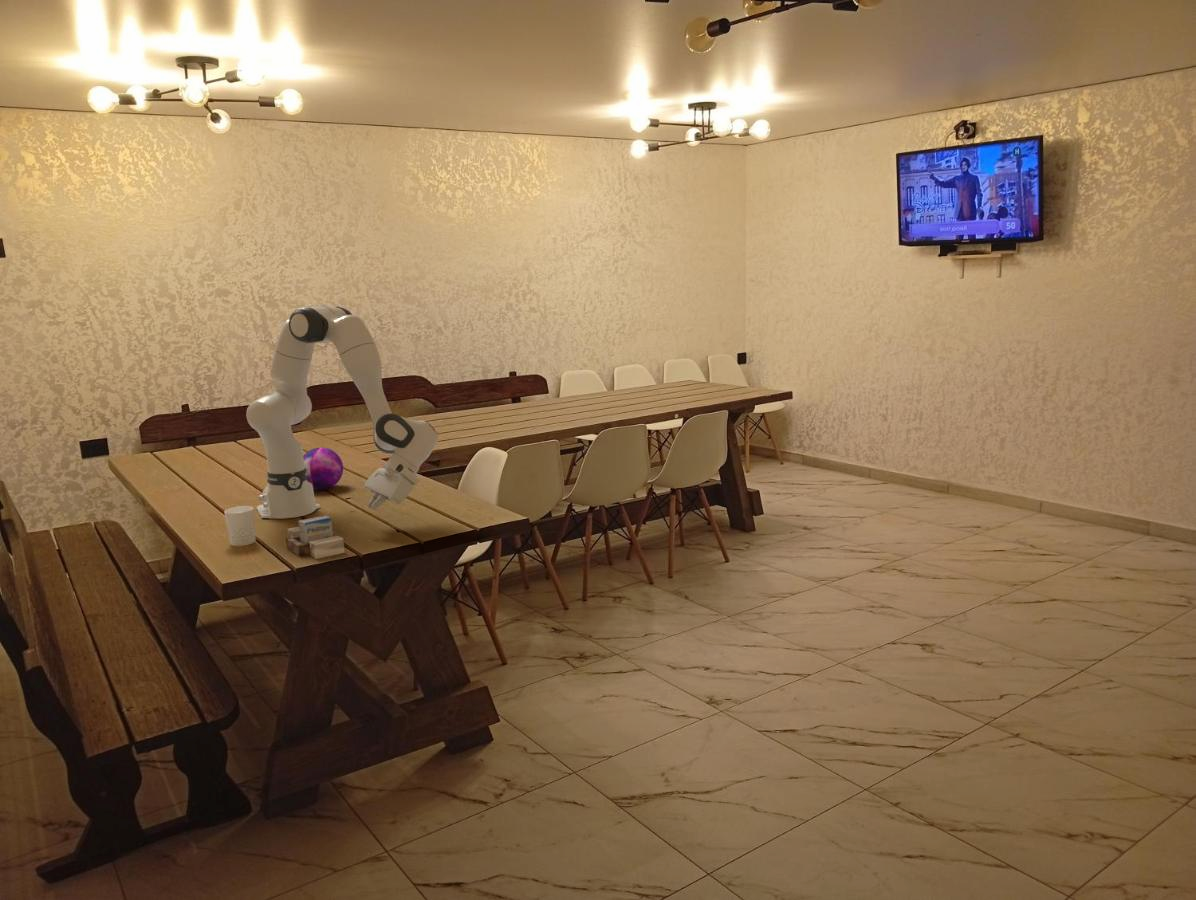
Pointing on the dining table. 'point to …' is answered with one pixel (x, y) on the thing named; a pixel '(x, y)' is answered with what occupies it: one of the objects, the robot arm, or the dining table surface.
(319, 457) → the decorative orb
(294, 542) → the wooden tray
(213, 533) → the dining table surface
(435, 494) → the dining table surface
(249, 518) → the white cup
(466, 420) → the dining table surface
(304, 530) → the medicine box
